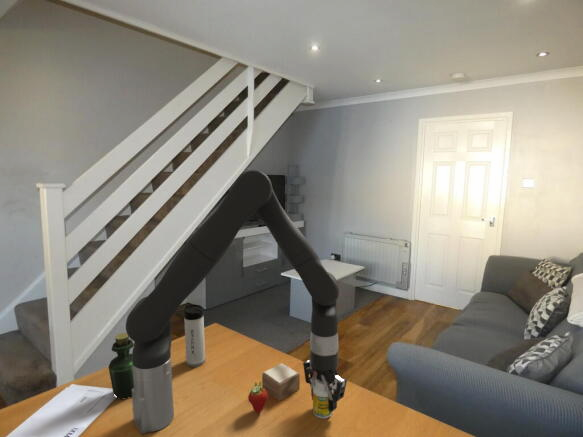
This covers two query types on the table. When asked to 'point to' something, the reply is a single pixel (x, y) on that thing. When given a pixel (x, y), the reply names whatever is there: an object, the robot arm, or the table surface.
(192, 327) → the travel mug
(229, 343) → the table surface
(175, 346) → the table surface
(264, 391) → the fruit
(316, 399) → the supplement bottle
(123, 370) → the potion bottle
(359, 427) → the table surface
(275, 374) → the wooden block
